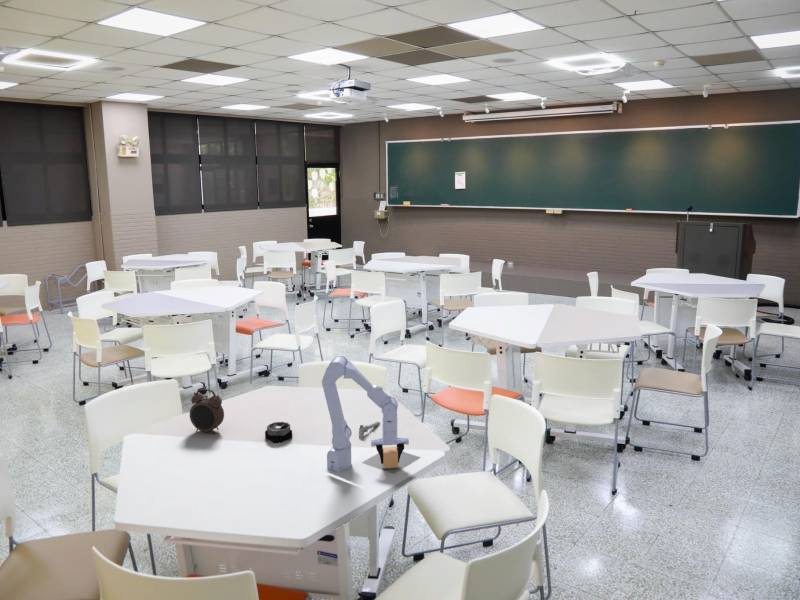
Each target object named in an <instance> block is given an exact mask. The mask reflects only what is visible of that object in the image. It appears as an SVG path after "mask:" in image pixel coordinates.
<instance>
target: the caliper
mask: <svg viewBox="0 0 800 600" xmlns="http://www.w3.org/2000/svg"><path fill="white" fill-rule="evenodd" d="M380 424H381V422H380V421H375V422H373V423H371V424H368V425H364V424H361V425H359V429H358V439H362V438H363V437H364V436H365V433H368V431H369V430H370V429H372V428H375V427H377V426H379V425H380Z"/></svg>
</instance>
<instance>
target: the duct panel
mask: <svg viewBox="0 0 800 600" xmlns="http://www.w3.org/2000/svg"><path fill="white" fill-rule="evenodd" d="M419 459H421V457H420V456H417V455H416V454H412V453H409V452H405V451H403V452H402V454H401V456H400V460H399V463H398V468H383V464H381V459H380V455H379V453H377V454H375V455H373V456H371V457H369V458H367V459H366V460H363V461H362V462H361V463H362V464H364V465H367V466H370V467H373V468H376V469H379V470H382V471H385V472H387V473H390V474H393V475H394V474H397V473H398V472H399V471H402V470H403V469H404V468H406V467H407V466H410V465H411V464H413V463H415V462H416V461H418V460H419Z"/></svg>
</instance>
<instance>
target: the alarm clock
mask: <svg viewBox="0 0 800 600" xmlns="http://www.w3.org/2000/svg"><path fill="white" fill-rule="evenodd" d="M201 391H206V392H210V393H212V395H211V396H210V397H209V396H208V395H204V394H202V393H199V392H201ZM190 402H191V404H192V406H191V407H190V409H189V419H190V422H191V424H192V426H194V427H195V429H196V430H195V432H196V433H198V431H200V432H205V433H206V432H212V433H213V435H216V433H215V431H214V430H215V429H216V430H217V431H218V430H220V428H218V427H219V426H220V425H221V424H222V423H223V421H224V419H225V410H224V407H223V406H222V403H223V401H222V398H221V397H220V396H219V395H217V394H216V393H215V391H214V390H213V389H209V388H200V389H198V390H197V391H194V392H193V395H192V397H191V401H190Z"/></svg>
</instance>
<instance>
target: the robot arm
mask: <svg viewBox="0 0 800 600" xmlns="http://www.w3.org/2000/svg"><path fill="white" fill-rule="evenodd" d="M341 377H342V379H343V380H344V379H351V380H353V381H354V383H356V384H357V385H359V387H360V388H362V389H363V390H364V391H365V392H366V396H367V398H369V400H371V401H372V402H373V403H374V404H375V405H376V406H377V407H378V408H380V409H381V413H382V438H377V439H370V445H371V447H372V448H373V447H375V448H376V451H377V452H378V453H379V455H380V459H381V464H383V448H384V447H383V446H394V445H396V448H397V451H398V463H399V460H400V456H401V454H402V452H404V450H405V445H406V446H408V445H409V444H410V443H409V441H410V440H409V438H408V437H406V438H405V437H398V407H399V402H398V400H397V399H396V397H394V396H391V395H389V394H388V393H387V392H385V390H384V387H382V385H378V384H373V383H372V382H370V380H369V379H368V378H366V376H365V375H364V374H363V373H362V372H361V371H360V370H359V369H358V368H357V367H356V366H355V365H354V364H353V362H351V360H348V359H347V357H346V356H344V355H336V356H335V357H334V358H333V359H332V360H331V361H330V363H329V365H328V366H327V367H326V368H325V372H324V375H323V376H322V379H321V385H322V389H323V393H324V397H325V401H326V405H327V409H328V414H329V419H330V421H331V433H332V438H331V444H332V447H331V449H329V451H327V454H326V468H327V469H330V470H333V471H335V472H341V471H343V470H346V469H348V468H350V467H351V466H352V443H351V441H350V438H351V436H352V429H351V428H350V426H349V425H348V422H347V421H346V419H345V416H344V413H343V410H342V409H343V408H342V405H341V400H340V396H339V391H338V388H337V384H336V383H337V380H339V379H340V378H341ZM378 453H377V454H378Z"/></svg>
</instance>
